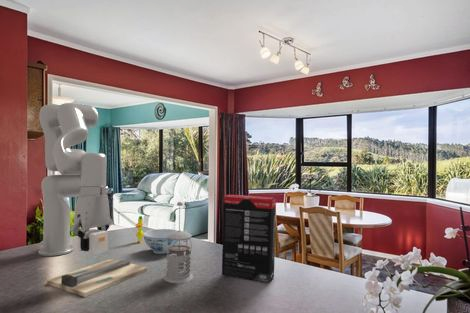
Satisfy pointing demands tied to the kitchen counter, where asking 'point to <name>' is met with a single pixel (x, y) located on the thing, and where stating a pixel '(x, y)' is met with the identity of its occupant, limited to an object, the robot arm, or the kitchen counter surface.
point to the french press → (179, 257)
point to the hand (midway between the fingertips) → (92, 247)
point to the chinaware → (159, 240)
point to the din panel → (96, 277)
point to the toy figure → (139, 226)
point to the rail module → (96, 241)
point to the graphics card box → (249, 237)
